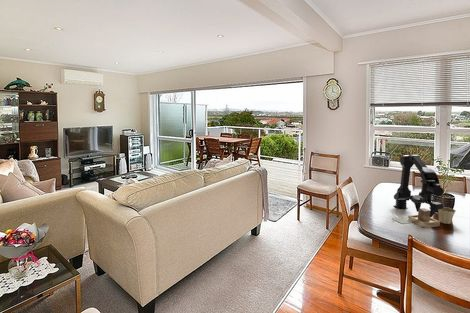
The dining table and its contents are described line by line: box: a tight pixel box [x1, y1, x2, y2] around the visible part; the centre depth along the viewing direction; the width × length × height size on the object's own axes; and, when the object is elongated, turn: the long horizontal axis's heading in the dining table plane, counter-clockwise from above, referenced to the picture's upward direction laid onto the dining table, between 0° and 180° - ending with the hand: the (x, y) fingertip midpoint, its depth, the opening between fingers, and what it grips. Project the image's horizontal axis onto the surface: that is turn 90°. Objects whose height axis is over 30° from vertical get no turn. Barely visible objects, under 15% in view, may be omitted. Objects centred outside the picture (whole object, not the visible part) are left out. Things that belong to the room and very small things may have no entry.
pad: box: [392, 217, 414, 225], centre depth 172 cm, size 8×8×1 cm
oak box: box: [407, 214, 441, 229], centre depth 168 cm, size 12×11×3 cm
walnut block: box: [417, 207, 431, 222], centre depth 167 cm, size 4×4×7 cm
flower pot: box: [437, 206, 457, 225], centre depth 168 cm, size 9×9×9 cm
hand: (424, 214), depth 167 cm, fingers open, 9 cm apart
